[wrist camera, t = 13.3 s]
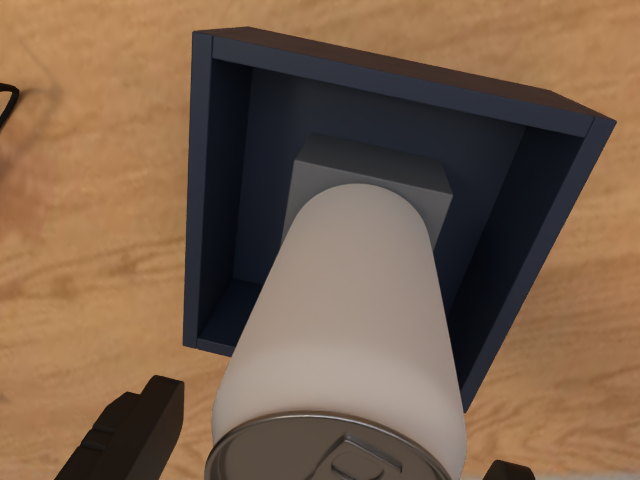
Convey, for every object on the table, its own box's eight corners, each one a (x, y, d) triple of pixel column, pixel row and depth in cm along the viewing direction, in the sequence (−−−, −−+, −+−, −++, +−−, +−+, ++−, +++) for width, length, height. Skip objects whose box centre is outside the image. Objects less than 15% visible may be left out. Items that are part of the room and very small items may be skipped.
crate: (550, 90, 21) (618, 121, 15) (449, 328, 29) (466, 414, 22) (246, 26, 22) (191, 30, 16) (225, 276, 29) (182, 346, 23)
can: (265, 256, 21) (142, 502, 10) (340, 150, 18) (275, 343, 7) (372, 323, 22) (360, 610, 11) (460, 233, 19) (554, 508, 8)
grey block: (440, 159, 22) (454, 195, 18) (404, 269, 26) (408, 321, 21) (311, 131, 23) (294, 159, 18) (292, 243, 26) (273, 289, 22)
